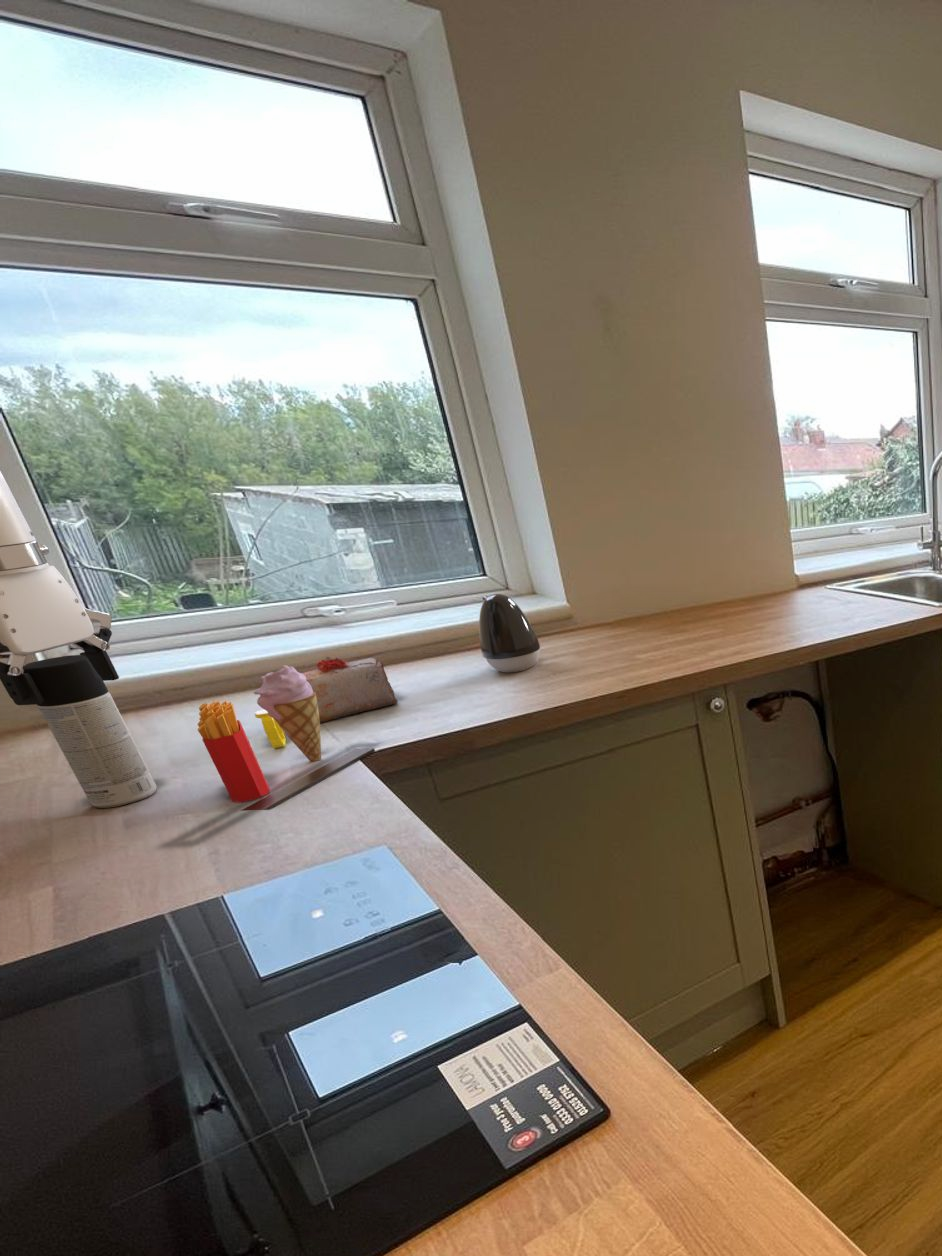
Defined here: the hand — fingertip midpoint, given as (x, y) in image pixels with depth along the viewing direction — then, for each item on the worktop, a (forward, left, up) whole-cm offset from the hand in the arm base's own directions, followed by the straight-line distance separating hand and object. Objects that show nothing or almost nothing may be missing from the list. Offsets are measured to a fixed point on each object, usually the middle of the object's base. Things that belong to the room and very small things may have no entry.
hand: (70, 691), depth 107 cm
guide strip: (+24, -1, -16) cm, 29 cm away
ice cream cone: (+18, +11, -16) cm, 26 cm away
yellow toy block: (+7, +18, -16) cm, 25 cm away
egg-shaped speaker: (+24, +56, -16) cm, 63 cm away
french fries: (+18, 0, -16) cm, 24 cm away
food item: (+7, +33, -16) cm, 37 cm away
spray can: (0, 0, -16) cm, 16 cm away
